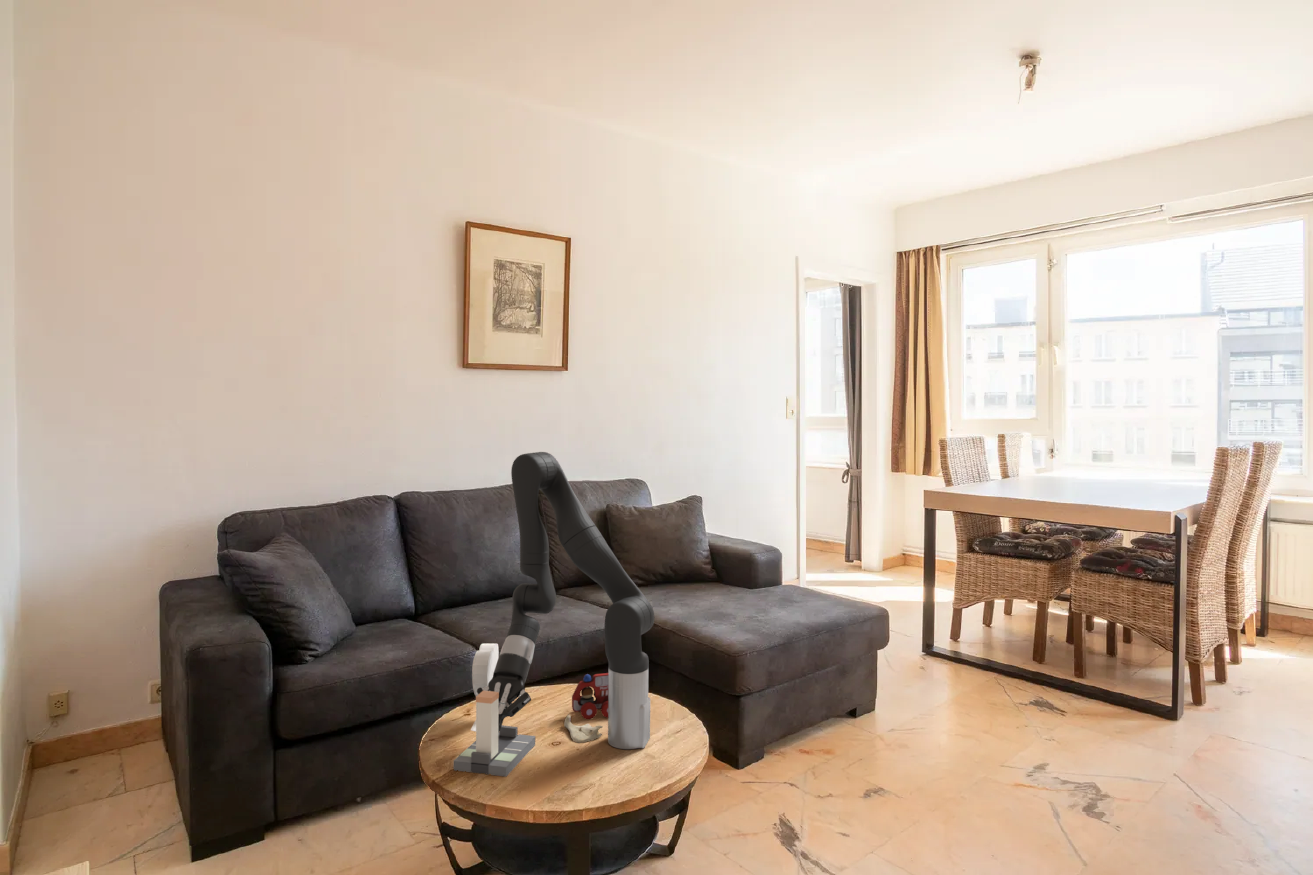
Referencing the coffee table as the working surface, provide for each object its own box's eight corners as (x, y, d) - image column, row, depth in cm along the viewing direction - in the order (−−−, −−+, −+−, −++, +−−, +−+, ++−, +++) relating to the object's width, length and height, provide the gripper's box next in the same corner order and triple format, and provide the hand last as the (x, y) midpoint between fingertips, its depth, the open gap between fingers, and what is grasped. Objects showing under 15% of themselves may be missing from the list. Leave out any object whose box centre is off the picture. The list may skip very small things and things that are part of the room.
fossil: (587, 723, 189) (587, 709, 189) (603, 739, 180) (603, 725, 180) (560, 727, 186) (560, 713, 186) (575, 745, 177) (575, 730, 177)
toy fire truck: (570, 710, 196) (570, 670, 196) (617, 706, 199) (618, 667, 199) (573, 721, 190) (574, 679, 189) (623, 717, 193) (623, 675, 192)
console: (535, 744, 176) (535, 727, 176) (506, 776, 160) (506, 757, 160) (486, 739, 179) (486, 722, 178) (453, 769, 163) (453, 751, 163)
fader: (498, 752, 166) (498, 691, 166) (491, 759, 163) (491, 697, 163) (483, 750, 167) (483, 690, 167) (475, 757, 164) (475, 696, 163)
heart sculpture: (481, 708, 197) (481, 638, 197) (501, 708, 197) (501, 638, 197) (468, 733, 182) (469, 657, 181) (490, 733, 182) (490, 657, 181)
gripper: (483, 649, 178) (458, 722, 166) (537, 654, 175) (515, 728, 163) (493, 665, 183) (469, 736, 171) (545, 669, 180) (525, 743, 168)
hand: (491, 732), depth 167 cm, fingers closed
